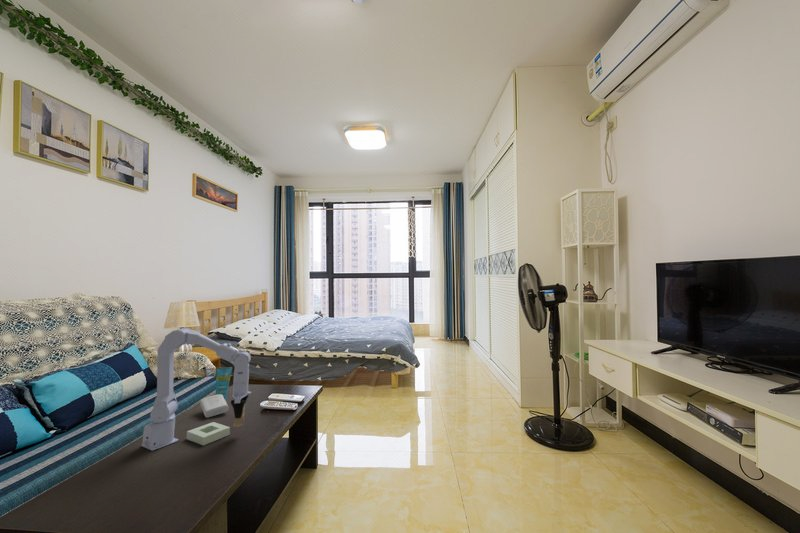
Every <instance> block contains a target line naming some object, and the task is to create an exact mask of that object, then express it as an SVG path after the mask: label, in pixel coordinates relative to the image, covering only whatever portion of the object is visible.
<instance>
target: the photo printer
mask: <svg viewBox="0 0 800 533" xmlns="http://www.w3.org/2000/svg"><path fill="white" fill-rule="evenodd" d="M199 405H200V408H201V410H202V413H203V415H204V418H206V419H207V418H212V417H215V416H218V415H221V414H224V413H227V412H228V411H229V405H228V403H227V400H226V401H225V399H224V397H223V395H222V394H218V395H215V394H213V395H209V396H205V397H204V398H202V399H200V402H199Z"/></svg>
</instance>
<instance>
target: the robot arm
mask: <svg viewBox="0 0 800 533" xmlns="http://www.w3.org/2000/svg"><path fill="white" fill-rule="evenodd" d="M195 344H196V345H199V346H200V347H203V348H206V349H208V350H210V351H213V352H215V354H216V355H215V356H217V357H218V358H220V359H222V360H224V361H227V362H229V363H232V364H233V366H234V370H233V371H234V372H233V381H232V382H233V384H232V393H231V396H232V397H233V399H231V400H230V404H231V406H232V408H233V416H234V415H235V418H241V416H242V411H243V407H244V404H245V405H246V402H247V401H248V400H247V399H248V398H249V395H251V394H252V392H251V391H249V380H250V379H249V378H250V362H251V360H252V356H251V354H250V352H248V351H247V350H243V349H241V348H236V347H234V346H232V343H229V342H228V343H225V342H224V343H222V344H221V343H219V342H217V341H215V340H213V339H211V338H210V337H207V336H206V335H204V334H202V333H200V332H198V331H197V330H194V329H191V328H189V327H182V328H180V329H175V330H172V331H171V332H169V333H167V334H166V335H165V336H164V339H163V341H162V343H161V344H160V345H159V347H158V348H157V355H156V356H157V366H156V367H157V368H156V374H157V376H156V381H157V382H156V397H155V399H154V402H153V404H152V405H153V406H152V407H153V408H152V409H151V410H150V413H149V414H150V416H149V417H150V419H151V420H152V421H151V422H150V423H148V424H146V425H144V427H143V431H142V433H143V434H142V444H141V445H140V446H141V447H142V448H145V449H147V450H150V451H155V450H158V449H161V448H163V447H166V446H169V445H171V444H175V443H177V442H180V440H179V438H177V437H175V429H176V428H175V426H176V414H175V412H176V411H177V410H178V408H179V402H178V401H177V398H176V396H177V395H176V393H175V391H174V373H175V372H174V370H175V369H174V368H175V366H174V363H175V361H174V358H175V356H174V354H175V352H176V351H177V350H179V348H181V347H182V346H183V345H195Z"/></svg>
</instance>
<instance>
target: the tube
mask: <svg viewBox="0 0 800 533" xmlns="http://www.w3.org/2000/svg"><path fill="white" fill-rule="evenodd" d="M232 371H233V367H232V366H229V367H227V366H226V367H216V369H215V372H216V375H215V376H216V379H215V382H216V383H215V394H214V395H218V394H222V395H223V397H224V399H225V401H226V402H227V398H228V393H229V392H228V391H229V385H230V381H231V375H232Z"/></svg>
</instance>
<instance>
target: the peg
mask: <svg viewBox="0 0 800 533" xmlns="http://www.w3.org/2000/svg"><path fill="white" fill-rule="evenodd" d="M245 408H246V403H245V404H244V407H243V411H242V416H241V418H235V415H234V414H233V421H232V426H233V427H241V426H243V425H244V424H245V410H246V409H245Z"/></svg>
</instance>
